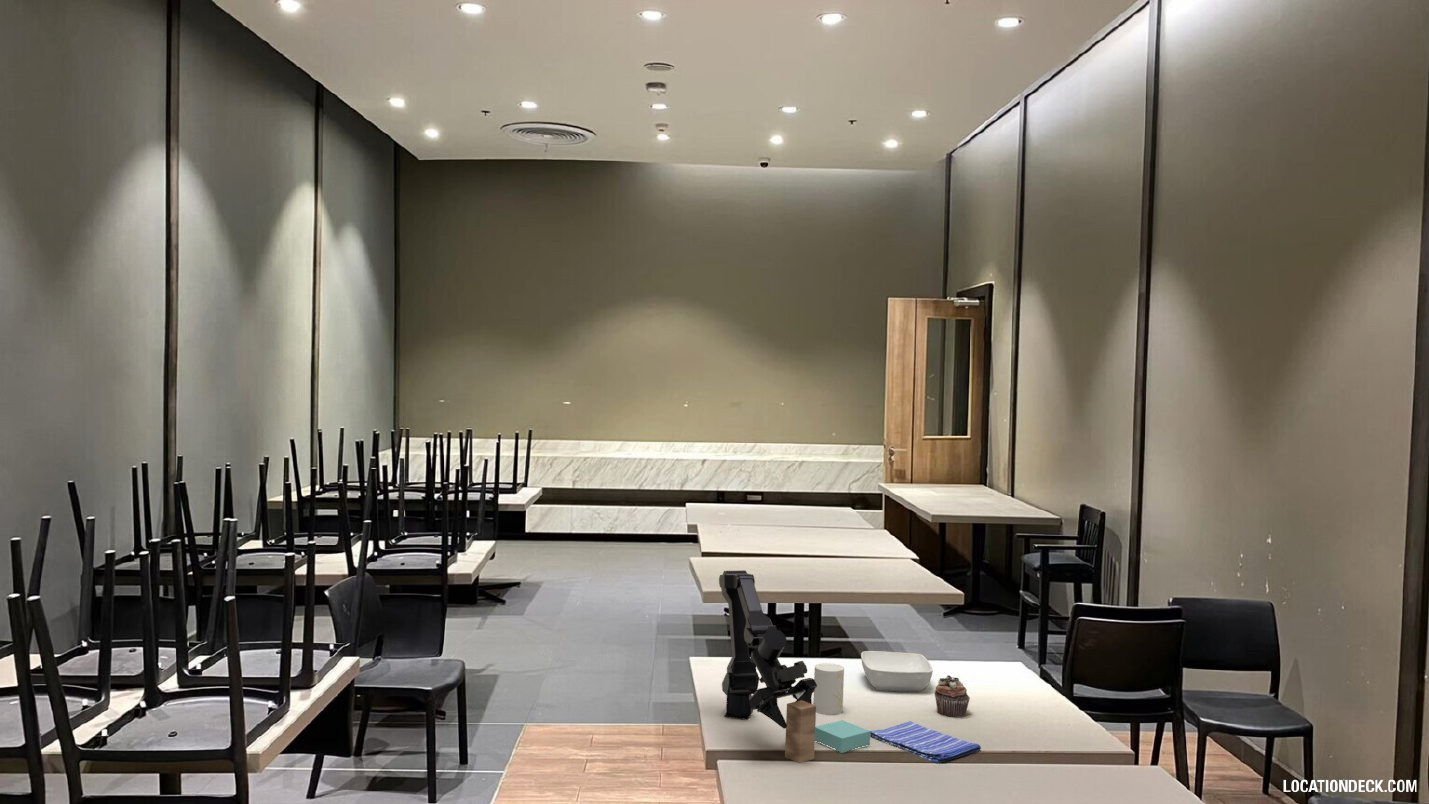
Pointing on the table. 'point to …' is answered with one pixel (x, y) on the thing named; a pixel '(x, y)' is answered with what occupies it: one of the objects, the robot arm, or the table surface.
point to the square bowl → (896, 670)
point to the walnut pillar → (800, 731)
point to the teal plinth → (842, 736)
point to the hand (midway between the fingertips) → (799, 724)
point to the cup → (829, 688)
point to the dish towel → (925, 742)
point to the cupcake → (951, 697)
